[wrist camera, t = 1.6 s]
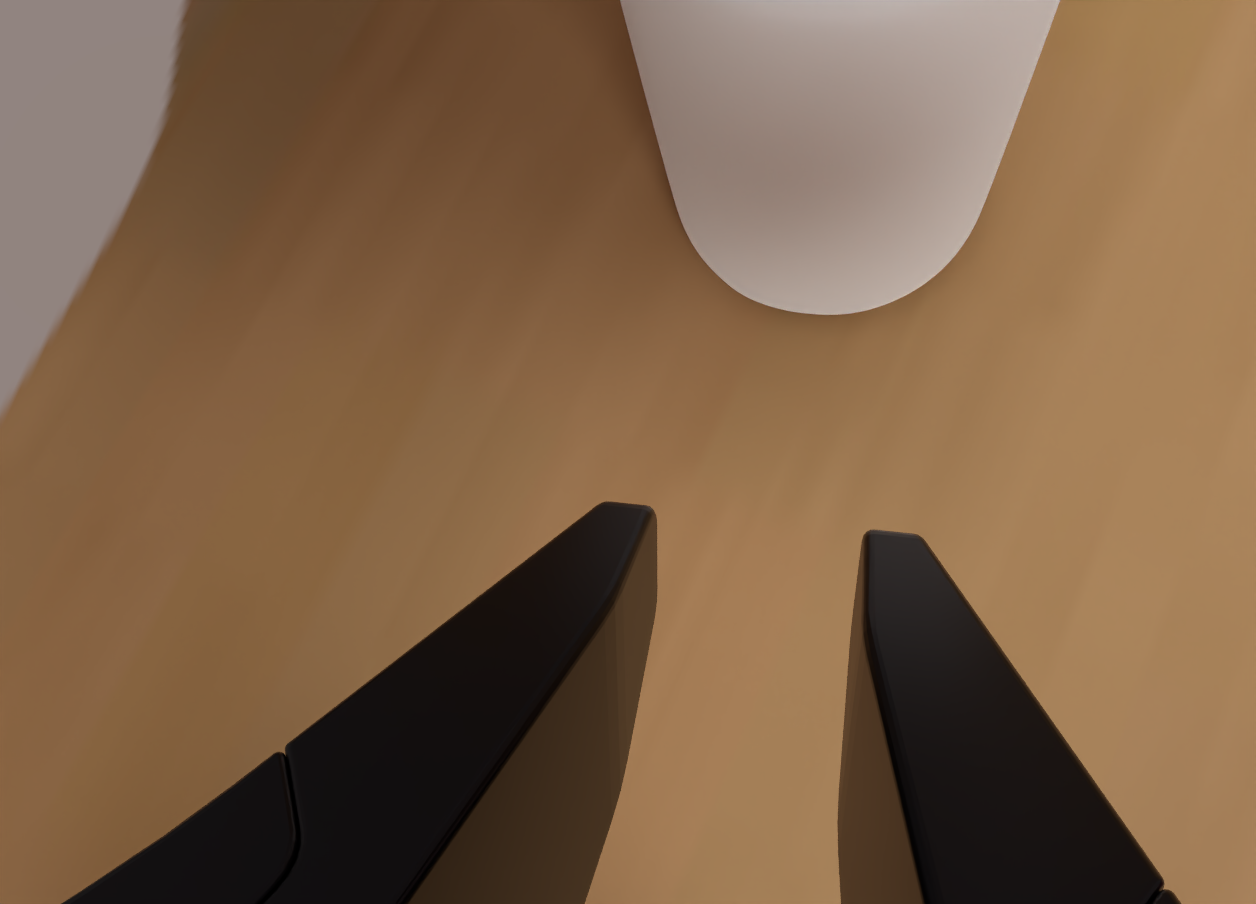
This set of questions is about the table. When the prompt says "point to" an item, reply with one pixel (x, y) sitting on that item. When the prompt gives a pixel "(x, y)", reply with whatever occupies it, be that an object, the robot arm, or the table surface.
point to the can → (833, 134)
